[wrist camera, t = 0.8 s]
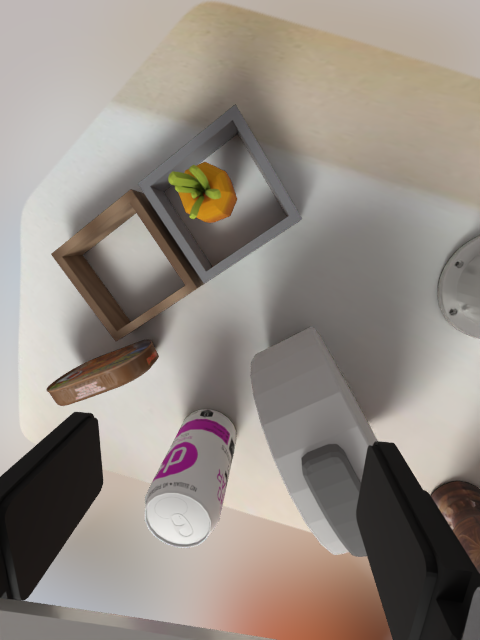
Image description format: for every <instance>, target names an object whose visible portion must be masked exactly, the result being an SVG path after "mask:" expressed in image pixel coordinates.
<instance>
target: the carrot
mask: <svg viewBox="0 0 480 640" xmlns="http://www.w3.org/2000/svg"><path fill="white" fill-rule="evenodd" d="M168 181H169V183H170V184H171V185H175V190H176V191H178V193H179V196H180V198H181V201H182V204H183V206H184V209H185V212H186V213H188V214H190V216H189V217H190V218H191V219H195V218H198V219H200V220H202V221H204V222H209V223H212V222H216V221H219V220H221V219H224V218H226V217H229V216H230V215H231V213H232V211H233V208H234V206H235V204H236V201H237V197H236V194H235V191H234V188H233V185H232V182H231V180H230V178H229V176H228V174H227V173H226V172H225V171H223V170H221V169H219V168H217V167H215V166H213V165H211V164H209V163H207V162H203V163H201V164H199V165H196V166H195V165H192V166H191V167H190V168H189V169H187V170H185V173H182V172H175V171H172V172H171V173H170V174H169V177H168Z"/></svg>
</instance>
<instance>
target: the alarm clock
mask: <svg viewBox="0 0 480 640" xmlns="http://www.w3.org/2000/svg"><path fill="white" fill-rule="evenodd" d="M251 382H252V388H253V395H254V400H255V404H256V407H257V411H258V415H259V418H260V422H261V426H262V429H263V432H264V434H265V437H266V440H267V443H268V445H269V448H270V451H271V454H272V456H273V459H274V462H275V464H276V466H277V468H278V470H279V473H280V475H281V477H282V479H283V481H284V484H285V486H286V488H287V490H288V493H289V495H290V496H291V498H292V500H293V502H294V504H295V505H296V507H297V509H298V511H299V512H300V514H301V516H302V518H303V520H304V521H305V523H306V525H307V526H308V527H309V529H310V530H311V531H312V533H313V534H314V535H315V537H316V538H317V540H318V541H319V542H320V544H321V545H322V546H323V547H325V548H326V549H327V550H329V551H330V552H331V553H332V554H334V555H338V554H343V553H347V552H350V553H351V554H352V555H354V556H358V557H363V556H367V553H366V550H365V547H364V543H363V540H362V537H361V534H360V530H359V527H358V524H357V519H356V509H357V503H358V498H359V492H360V486H361V481H362V475H363V470H364V464H365V459H366V453H367V448H368V446H369V445H371V446H373V444H374V442H375V441H377V439H376V437H375V435H374V433H373V431H372V429H371V427H370V425H369V424H368V422H367V420H366V418H365V416H364V414H363V412H362V410H361V409H360V407H359V405H358V403H357V401H356V400H355V398H354V396H353V394H352V392H351V391H350V389H349V387H348V385H347V383H346V381H345V380H344V378H343V376H342V374H341V372H340V371H339V369H338V367H337V365H336V363H335V362H334V360H333V358H332V356H331V354H330V352H329V351H328V349H327V347H326V345H325V343H324V342H323V340H322V338H321V337H320V335H319V334H318V332H317V331H316V329H315V328H314V327H309V328H307V329H305V330H303V331H301V332H299V333H297V334H295V335H293V336H291V337H289V338H287V339H285V340H284V341H282V342H280V343H278V344H276V345H274V346H272V347H270V348H268V349H266V350H264V351H262V352H260V353H258V354H256V355H255V356H254V358H253V360H252V362H251Z"/></svg>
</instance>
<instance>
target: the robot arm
mask: <svg viewBox="0 0 480 640" xmlns="http://www.w3.org/2000/svg"><path fill="white" fill-rule="evenodd" d="M456 262H457V265H456V266H455V263H456ZM438 301H439V306H440V309H441V311H442V313H443V315H444V317H445V318H446V319H447V321H448V322H449V323H450V324H451V325H452V326H454V327H455V328H456V329H457V330H459V331H461V332H463V333H465V334H467V335H469V336H472V337H474V338H479V339H480V235H479V236H477V237H476V238H474V239H472V240H470V241H468V242H467V243H466V244H465V245H463V246H462V247H461V248H460V249H458V250H457V252H456V253H455V254H454V255H453V256H452V257H451V258H450V260H449V261H448V263H447V264H446V266H445V267H444V269H443V272H442V274H441V277H440V280H439V285H438ZM450 310H451V311H450ZM449 311H450V312H449ZM102 485H103V473H102V461H101V450H100V438H99V427H98V420H97V419H96V418H94V416H93V414H91V413H83V412H74V413H73V414H71V415H70V416H69V417H68V418H67V419H66V420H65V421H63V422H62V423H61V424H60V425H59V426H58V427H57V428H55V429H54V430H53V431H52V432H51V433H50V434H49V435H47V436H46V437H45V438H44V439H43V440H42V441H41V442H39V443H38V444H37V445H36V446H35V447H34V448H33V449H31V450H30V451H29V452H28V453H27V454H26V455H25V456H23V457H22V458H21V459H20V460H19V461H18V462H17V463H15V464H14V465H13V466H12V467H11V468H10V469H9V470H8V471H6V472H5V473H4V474H3V475H2V476H1V477H0V640H275V639H268V638H263V637H257V636H250V635H244V634H238V633H232V632H225V631H219V630H213V629H206V628H200V627H193V626H187V625H180V624H174V623H167V622H161V621H154V620H148V619H142V618H135V617H128V616H122V615H116V614H108V613H102V612H95V611H88V610H82V609H75V608H68V607H61V606H55V605H48V604H41V603H33V602H27V601H21V600H25V599H27V598H28V597H29V595H30V594H31V593H32V592H33V590H34V588H35V587H36V586H37V584H38V582H39V581H40V580H41V578H42V577H43V575H44V574H45V572H46V571H47V569H48V568H49V566H50V565H51V563H52V562H53V561H54V559H55V558H56V556H57V555H58V553H59V552H60V550H61V549H62V547H63V546H64V544H65V543H66V541H67V540H68V538H69V537H70V535H71V534H72V532H73V531H74V529H75V528H76V527H77V525H78V524H79V522H80V520H81V519H82V518H83V516H84V515H85V513H86V512H87V510H88V509H89V507H90V506H91V504H92V503H93V501H94V500H95V498H96V497H97V496H98V494H99V492H100V491H101V488H102ZM356 519H357V524H358V527H359V530H360V534H361V537H362V540H363V543H364V547H365V550H366V553H367V556H368V560H369V563H370V566H371V570H372V573H373V576H374V579H375V583H376V586H377V589H378V592H379V596H380V599H381V602H382V606H383V609H384V611H385V615H386V619H387V622H388V625H389V628H390V632H391V635H392V638H393V640H480V573H479V572H478V570H477V569H476V567H475V565H474V564H473V562H472V561H471V559H470V557H469V556H468V554H467V553H466V551H465V549H464V548H463V546H462V545H461V543H460V541H459V540H458V538H457V537H456V535H455V533H454V532H453V530H452V529H451V527H450V525H449V524H448V522H447V521H446V519H445V517H444V516H443V514H442V513H441V511H440V510H439V508H438V506H437V505H436V503H435V502H434V500H433V498H432V497H431V496H430V494H429V493H428V492H426V491H425V490H423V489H422V488H421V486H420V484H419V483H418V481H417V479H416V478H415V476H414V474H413V473H412V471H411V470H410V468H409V466H408V465H407V463H406V461H405V460H404V458H403V456H402V455H401V453H400V451H399V450H398V448H397V447H396V445H395V444H394V443H388V442H378V441H375V442H374V444H373V446H371V445H369V446H368V448H367V453H366V459H365V464H364V470H363V475H362V481H361V486H360V492H359V498H358V503H357V509H356Z"/></svg>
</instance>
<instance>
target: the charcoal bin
mask: <svg viewBox="0 0 480 640" xmlns="http://www.w3.org/2000/svg"><path fill="white" fill-rule="evenodd" d="M236 134H239V136H240V138H241V140H242V141H243V143H244V145H245V146H246V148H247V150H248V151H249V153H250V155H251V156H252V158H253V160H254V162H255V163H256V165H257V167H258V168H259V170H260V172H261V173H262V175H263V177H264V178H265V180H266V182H267V184H268V185H269V187H270V189H271V190H272V192H273V194H274V195H275V197H276V199H277V200H278V202H279V204H280V206H281V207H282V209H283V211H284V212H285V214H286V216H287V218H285V219H284V220H282V221H281V222H279V223H278V224H276V225H275V226H273V227H272V228H270V229H269V230H267V231H266V232H264V233H263V234H261V235H260V236H258V237H257V238H255V239H254V240H252V241H251V242H249V243H248V244H246V245H245V246H243V247H242V248H240V249H239V250H237V251H236V252H234V253H233V254H232V255H230V256H229V257H227V258H226V259H224V260H223V261H221V262H220V263H218V264H217V265H215V266H214V267H212V266H211V264H210V263H209V261H208V260H207V258H206V257H205V255H204V253H203V252H202V250H201V249H200V247H199V246H198V244H197V243H196V241H195V240H194V238H193V237H192V235H191V234H190V232H189V230H188V229H187V227H186V226H185V224H184V223H183V221H182V220H181V218H180V217H179V215H178V214H177V212H176V211H175V209H174V207H173V206H172V204H171V203H170V201H169V200H168V198H167V197H166V195H165V194H164V191H165V190H166V189H167V188H169V187H170V186H171V184H170V183H169V181H168V177H169V174H170V173H171V172H172V171H175V172H182V173H185V170H187V169H189V168H190V167H191V166H192V165H195V166H196V165H198V164H199V163H201V162H202V161H203V160H204V159H206V158H207V157H208V156H210V155H211V154H212V153H213V152H215V151H216V150H217V149H219V148H220V147H221V146H222V145H224V144H225V143H226V142H227V141H229V140H230V139H231V138H233V137H234V136H235V135H236ZM138 185H139V186H140V188H141V190H142V191H143V193H144V194H145V196H146V197H147V199H148V200H149V202H150V203H151V205H152V206H153V208H154V209H155V211H156V212H157V214H158V215H159V217H160V218H161V220H162V221H163V223H164V224H165V226H166V227H167V229H168V230H169V232H170V233H171V235H172V236H173V238H174V239H175V241H176V242H177V244H178V245H179V247H180V248H181V250H182V251H183V253H184V254H185V256H186V257H187V259H188V260H189V262H190V263H191V265H192V266H193V268H194V269H195V271H196V272H197V274H198V275H199V277H200V278H201V280H202V282H203V283H206V282H207V281H209V280H211V279H212V278H214V277H215V276H217V275H218V274H220V273H221V272H223V271H224V270H226V269H227V268H229V267H231V266H232V265H234V264H235V263H237V262H238V261H240V260H241V259H243V258H244V257H246V256H247V255H249V254H250V253H252V252H253V251H255V250H256V249H258V248H259V247H261V246H262V245H264V244H265V243H267V242H268V241H270V240H271V239H273V238H274V237H276V236H277V235H279V234H281V233H282V232H284V231H285V230H287V229H288V228H290V227H291V226H293V225H294V224H296V223H297V222H299V221H300V220H301V219H302V217H301V216H300V214H299V212H298V211H297V209H296V207H295V205H294V204H293V202H292V200H291V199H290V197H289V195H288V193H287V192H286V190H285V188H284V187H283V185H282V183H281V181H280V180H279V178H278V176H277V175H276V173H275V171H274V169H273V168H272V166H271V164H270V163H269V161H268V159H267V157H266V156H265V154H264V152H263V151H262V149H261V147H260V145H259V144H258V142H257V140H256V139H255V137H254V135H253V133H252V132H251V130H250V128H249V127H248V125H247V123H246V121H245V120H244V118H243V116H242V114H241V113H240V111H239V109H238V108H237V106H236V104H235V105H234V106H233V107H231V108H230V109H229V110H228V111H226V112H225V113H224V114H223V115H221V116H220V117H219V118H218V119H217V120H215V121H214V122H213V123H212V124H210V125H209V126H208V127H207V128H206V129H204V130H203V131H202V132H201V133H199V134H198V135H197V136H196V137H194V138H193V139H192V140H191V141H190V142H188V143H187V144H186V145H185V146H183V147H182V148H181V149H180V150H178V151H177V152H176V153H175V154H174V155H172V156H171V157H170V158H169V159H167V160H166V161H165V162H164V163H163V164H161V165H160V166H159V167H158V168H156V169H155V170H154V171H153V172H151V173H150V174H149V175H148V176H147V177H145V178H144V179H143V180H142V181H140V182H139V183H138Z"/></svg>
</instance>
